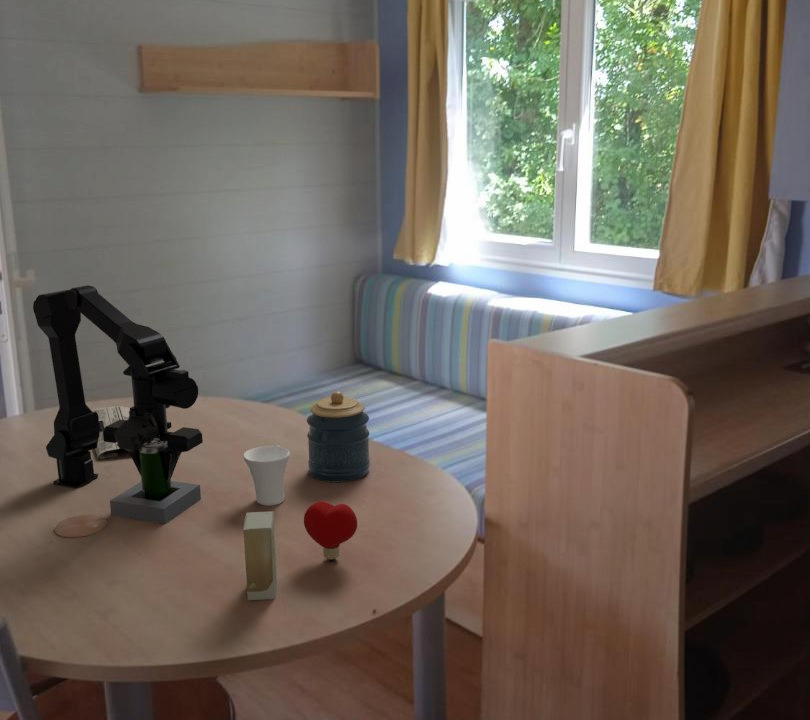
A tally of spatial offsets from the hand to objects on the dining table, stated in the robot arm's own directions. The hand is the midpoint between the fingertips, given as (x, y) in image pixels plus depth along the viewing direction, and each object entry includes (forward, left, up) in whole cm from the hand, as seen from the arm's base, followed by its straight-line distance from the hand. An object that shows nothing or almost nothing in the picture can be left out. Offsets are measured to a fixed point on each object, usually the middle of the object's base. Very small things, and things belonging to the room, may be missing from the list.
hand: (155, 477), depth 171 cm
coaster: (-8, -13, -6) cm, 16 cm away
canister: (+26, +27, -6) cm, 38 cm away
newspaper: (-34, +33, -7) cm, 48 cm away
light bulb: (+41, -10, -6) cm, 43 cm away
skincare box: (+35, -23, -6) cm, 42 cm away
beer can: (0, 0, -5) cm, 5 cm away
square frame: (0, -1, -6) cm, 6 cm away
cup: (+19, +9, -6) cm, 22 cm away
